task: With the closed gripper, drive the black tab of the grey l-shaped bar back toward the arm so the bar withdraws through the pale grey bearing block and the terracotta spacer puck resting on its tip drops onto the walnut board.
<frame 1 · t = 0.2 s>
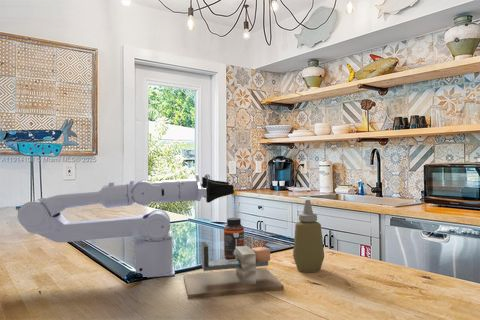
hand: (231, 187, 100), 21 cm above the countertop, tool horizontal, fingers open, 7 cm apart
grey l-shaped bar: (234, 254, 87), point 7 cm above the countertop, slide at 0.0 cm, touching spacer
supplement bottle: (234, 257, 111), on the countertop
spacer: (260, 259, 88), point 5 cm above the countertop, touching grey l-shaped bar
squeeze bottle: (308, 270, 96), on the countertop
stand: (245, 281, 88), on the countertop
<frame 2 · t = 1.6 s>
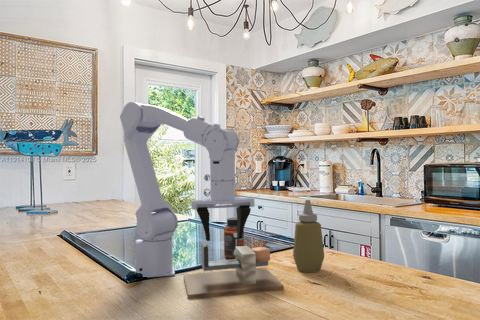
hand: (223, 239, 87), 10 cm above the countertop, tool pointing down, fingers open, 7 cm apart
nothing on the countertop moved.
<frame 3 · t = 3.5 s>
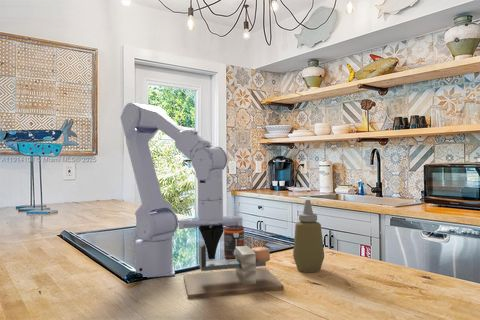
hand: (211, 258, 86), 6 cm above the countertop, tool pointing down, fingers closed
grey l-shaped bar: (232, 254, 87), point 7 cm above the countertop, slide at 0.6 cm, touching gripper, spacer
spacer: (260, 259, 88), point 5 cm above the countertop, touching grey l-shaped bar, stand
everything else where it was.
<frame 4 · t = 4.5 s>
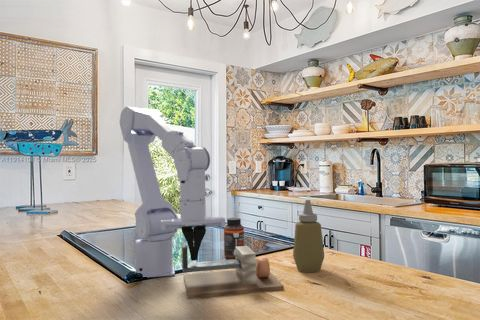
hand: (194, 259, 85), 6 cm above the countertop, tool pointing down, fingers closed
grey l-shaped bar: (215, 255, 86), point 7 cm above the countertop, slide at 4.6 cm, touching gripper
spacer: (257, 268, 88), point 3 cm above the countertop, tilted 90°, touching stand
everything else where it was.
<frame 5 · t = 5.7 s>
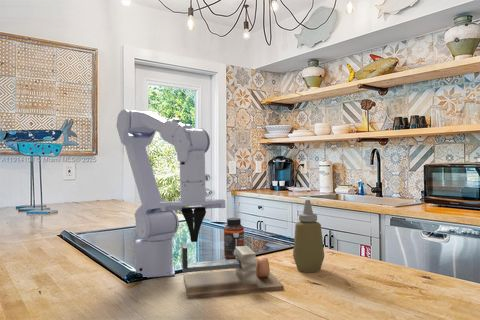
hand: (194, 241, 85), 10 cm above the countertop, tool pointing down, fingers closed
grey l-shaped bar: (215, 255, 86), point 7 cm above the countertop, slide at 4.6 cm
everything else where it was.
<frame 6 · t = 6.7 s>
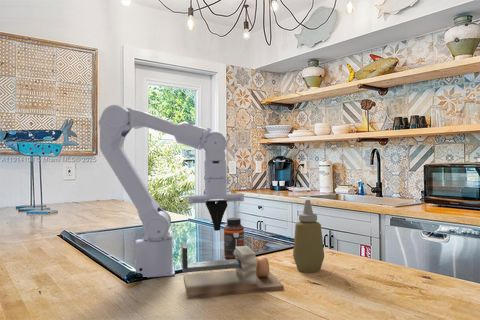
hand: (216, 229, 98), 10 cm above the countertop, tool pointing down, fingers closed
nothing on the countertop moved.
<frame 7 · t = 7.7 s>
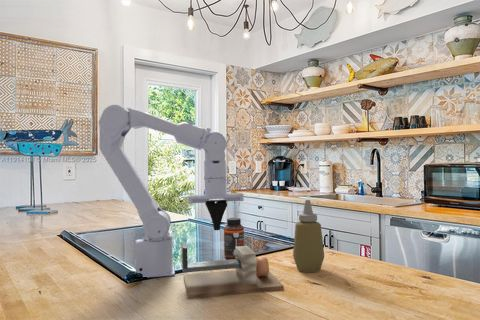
hand: (216, 229, 98), 10 cm above the countertop, tool pointing down, fingers closed
nothing on the countertop moved.
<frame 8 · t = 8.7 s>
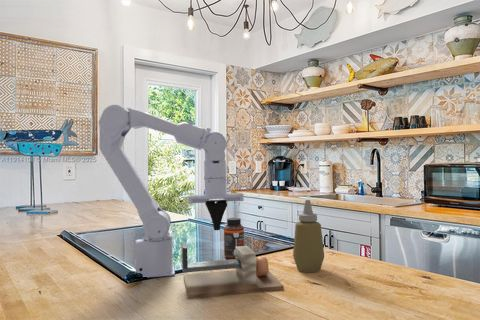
hand: (216, 229, 98), 10 cm above the countertop, tool pointing down, fingers closed
at the end: grey l-shaped bar slide at 4.6 cm; spacer touching stand; spacer point 3.0 cm above the countertop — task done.
